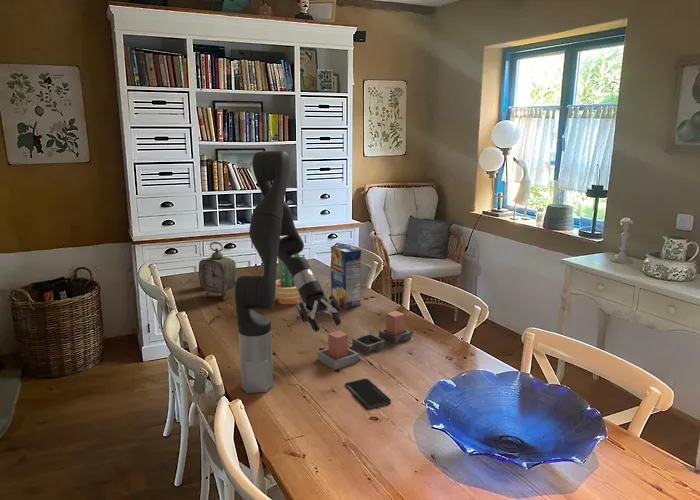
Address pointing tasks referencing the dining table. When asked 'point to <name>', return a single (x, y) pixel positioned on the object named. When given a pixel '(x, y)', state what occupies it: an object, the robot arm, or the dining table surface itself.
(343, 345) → the block
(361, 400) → the phone
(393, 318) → the block
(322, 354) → the box
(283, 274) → the potted cactus
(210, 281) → the tabletop clock
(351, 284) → the juice carton
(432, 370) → the dining table surface
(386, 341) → the dark grey double holder
